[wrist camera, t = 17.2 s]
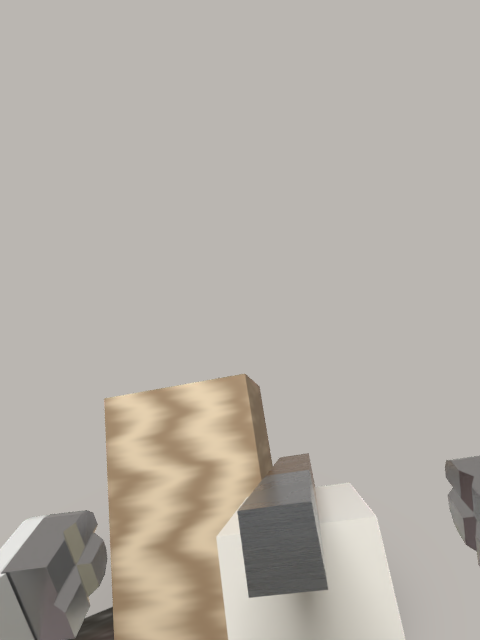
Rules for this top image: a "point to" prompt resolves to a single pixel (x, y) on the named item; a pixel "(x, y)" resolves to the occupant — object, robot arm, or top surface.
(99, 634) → the top surface
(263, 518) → the brown and gray bar
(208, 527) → the stand
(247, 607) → the block
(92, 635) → the top surface
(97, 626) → the top surface
